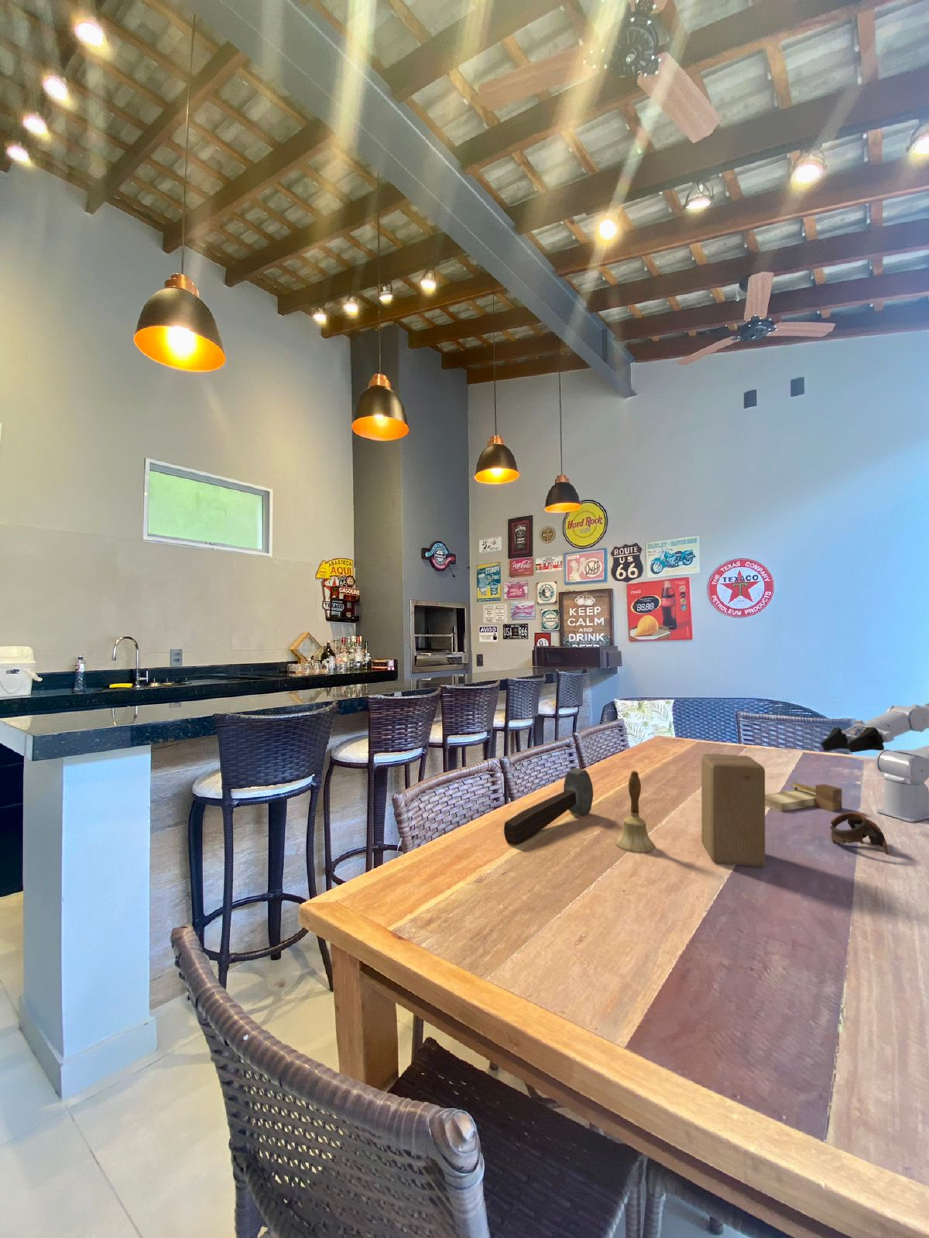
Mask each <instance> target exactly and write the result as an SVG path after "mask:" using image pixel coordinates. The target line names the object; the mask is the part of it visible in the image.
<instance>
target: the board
mask: <svg viewBox="0 0 929 1238" xmlns="http://www.w3.org/2000/svg"><path fill="white" fill-rule="evenodd" d="M765 807H767V808H770V809H773V810H776V811H778V812H781V813H782V812H787V811H792V810H797V809H803V808H808V807H816V793H813V792H809V791H806V790H803V789H799V788H797V790H795V789H792V790H786V791H780V792H773V793H768V794H767V793H765Z"/></svg>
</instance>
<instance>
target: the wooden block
mask: <svg viewBox="0 0 929 1238" xmlns="http://www.w3.org/2000/svg"><path fill="white" fill-rule="evenodd" d="M765 795H766V770H765V768H764V766H763V765H761V764H760V763H758V762H757V761H756V760H754V759H753V758H752V757H750V756H749V755H739V754H737V755H736V754H720V753H719V754H718V753H717V754H715V753H706V754H702V757H701V843H702V846H703V848H704V849H705V851H706V853H707V854H708V856H709V858H710V860H711V861H712V862H713V863H715V864H727V865H738V866H749V867H760V868H761V867H764V866H765V864H766V806H765Z"/></svg>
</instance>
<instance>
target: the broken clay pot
mask: <svg viewBox="0 0 929 1238" xmlns="http://www.w3.org/2000/svg"><path fill="white" fill-rule="evenodd" d="M843 822H847V824H848V825H849V827H850V829H837V828H836V827H838V826H839V825H840V824H842V823H843ZM830 824H831V825H830V827H829V829H830V830H831V831H830V838H831V840H832V843H833V844H836V843H841V844H846V843H848V844H852V843H860V844H862V845H865V842H864V839H865V838H867V837H868V840H869V842H870V845H871V846H879V847H882V848H883V849H884V853H885V855H889V854H890V853H889V849H888V848H889V847H888V843H887V840H886V838H885V835H884V832H882V829H881V828H880V827H879V826H878V825H877V824H876V823H875V822H874V821H872V820H871V819H869V818H867V817H866V816H865V815H864V814H862V813H861V812H857V811H854V812H852V811H849V812H845V813H841V814H838V815H837V816H835V817H834V818H833V819H832V820H830Z"/></svg>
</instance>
